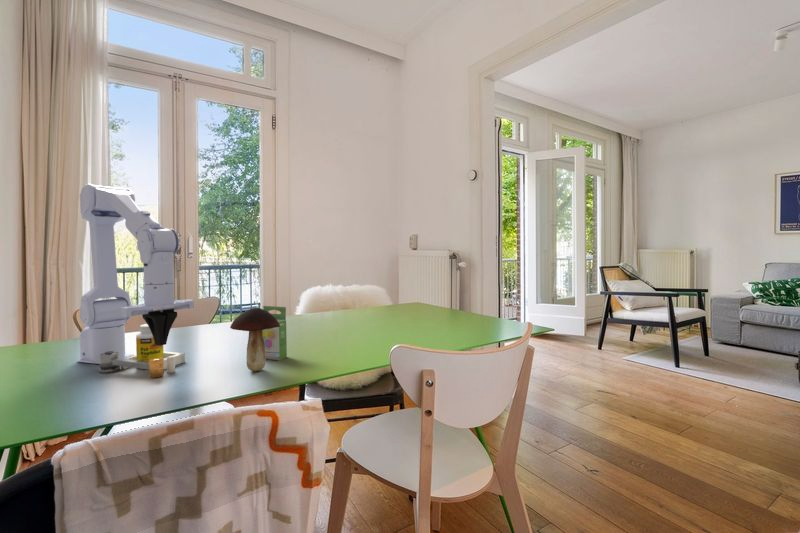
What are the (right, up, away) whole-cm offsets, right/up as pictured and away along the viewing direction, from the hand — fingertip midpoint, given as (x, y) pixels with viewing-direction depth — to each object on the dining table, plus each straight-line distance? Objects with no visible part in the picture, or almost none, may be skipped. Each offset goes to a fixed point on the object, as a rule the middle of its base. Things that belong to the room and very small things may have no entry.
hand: (160, 344), depth 88 cm
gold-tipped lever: (-8, -7, +3) cm, 11 cm away
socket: (-8, -7, +9) cm, 13 cm away
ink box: (+19, -7, +17) cm, 26 cm away
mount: (-15, -7, +5) cm, 17 cm away
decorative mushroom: (+19, -8, +5) cm, 21 cm away
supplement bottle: (-8, -7, +9) cm, 14 cm away
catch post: (0, -7, +5) cm, 9 cm away
